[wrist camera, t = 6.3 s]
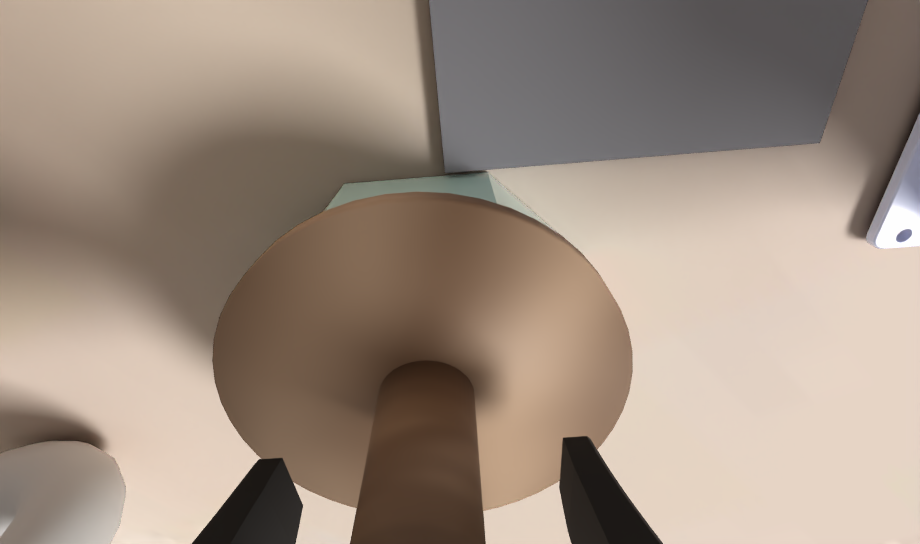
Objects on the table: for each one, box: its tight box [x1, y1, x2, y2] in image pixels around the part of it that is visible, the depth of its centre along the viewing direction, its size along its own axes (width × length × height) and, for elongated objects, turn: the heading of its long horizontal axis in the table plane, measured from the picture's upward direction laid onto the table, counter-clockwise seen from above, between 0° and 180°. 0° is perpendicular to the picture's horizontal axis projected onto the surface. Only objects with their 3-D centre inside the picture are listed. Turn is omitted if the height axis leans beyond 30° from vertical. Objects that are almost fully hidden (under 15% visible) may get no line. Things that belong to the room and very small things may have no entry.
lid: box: [212, 192, 632, 544], centre depth 11 cm, size 12×12×5 cm
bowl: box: [324, 172, 556, 232], centre depth 15 cm, size 12×12×4 cm
